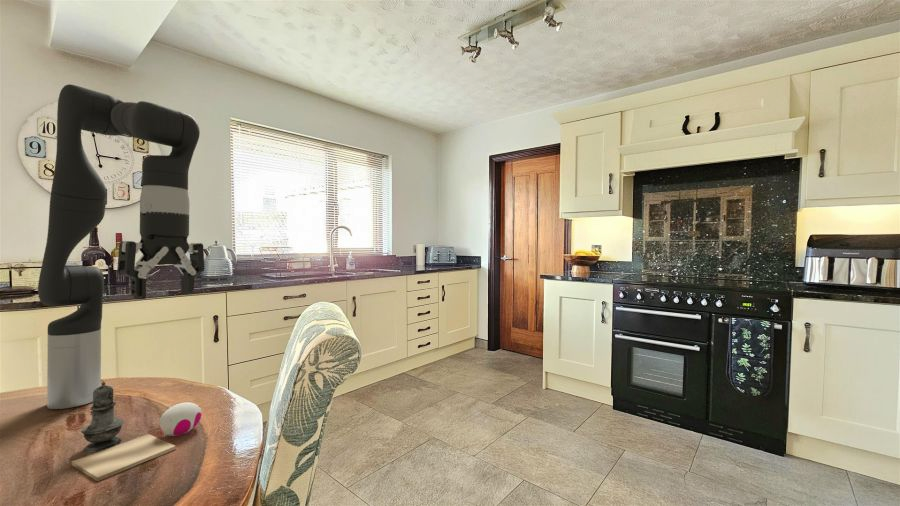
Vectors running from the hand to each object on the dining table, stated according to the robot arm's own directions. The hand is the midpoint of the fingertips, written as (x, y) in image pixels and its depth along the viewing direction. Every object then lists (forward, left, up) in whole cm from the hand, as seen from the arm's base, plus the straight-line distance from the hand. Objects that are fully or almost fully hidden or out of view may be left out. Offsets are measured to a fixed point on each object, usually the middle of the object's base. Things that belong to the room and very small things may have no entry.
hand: (164, 296), depth 71 cm
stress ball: (-1, +4, -28) cm, 28 cm away
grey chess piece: (-9, -6, -28) cm, 30 cm away
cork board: (0, -6, -28) cm, 29 cm away
